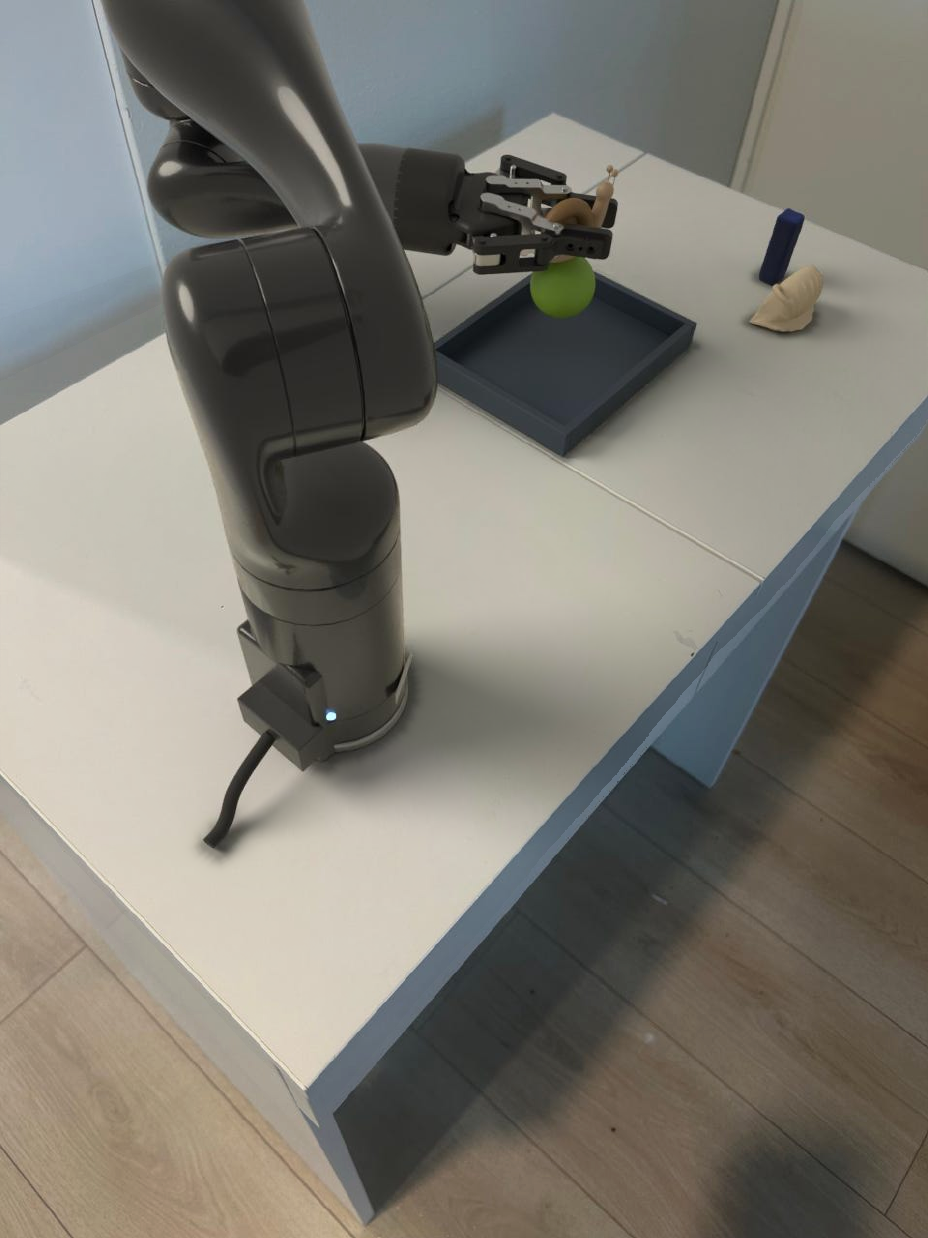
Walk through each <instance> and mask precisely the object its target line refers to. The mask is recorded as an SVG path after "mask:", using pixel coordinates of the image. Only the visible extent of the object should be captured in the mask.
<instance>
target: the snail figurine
mask: <svg viewBox="0 0 928 1238" xmlns="http://www.w3.org/2000/svg"><path fill="white" fill-rule="evenodd" d="M605 170H606V172H607V173H608V177H607V180H606V181H603V182H600V183H599V184H598V186H597V187H596V191H595V196H596V201H595V203H594V206H593V209H592V210H591V208H590V206H589V205H588V204H587V203H586V202H585V201H583V200H581V199H578V198H570V199H566V200H563V201H561V202H559V203H558V204H556V205H555V206H554V207H553V208H552V207H551V208H552V209H551V210H550V211H549V212H548V214H547V215H546V217H545V218H546V219H548V220H550V221H556V222H559V223H561V224H563V226H564V228H563V229H565V225H566V223H569V224H575V225H582V226H589V227H596V228H601V226H602V224H603V221H604V218H605V216H606V213H607V209H608V204H609V201H610V199H611V198H613V196H614V190H615V188H614V184H615V179H616V178H617V177H618V176H619V171H618V170H617V169H614V167H613V165H611V164H609V165H606V169H605ZM610 175H611V177H613V181H612V183H611V182H610ZM540 234H544V233H542V232H540ZM593 271H594V269H593V267H592V265H591V263H590V262H589V261H588V260H587V258H583V257H576V256H569V255H560V256H559V257H558V258H556V259H552V260H551V261H550V262H549V267H548V269H547V270H545V271H535V272H531V273H532V275H531V280H530V291H531V295H532V298H533V301H534V303H535V304H536V306H537V307H538V308H539V309H540V310H541V311H542V312H543V313H544V314H546V315H548V316H550V317H553V318H558V319H566V318H570V317H573V316H576V315H577V314H579V313H581V312H582V311H583V310H584V309H585V308H586V307H587V306H588V305H589V303H590V301H591V300H592V297H593V295H594V291H595V275H594V272H593Z"/></svg>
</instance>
